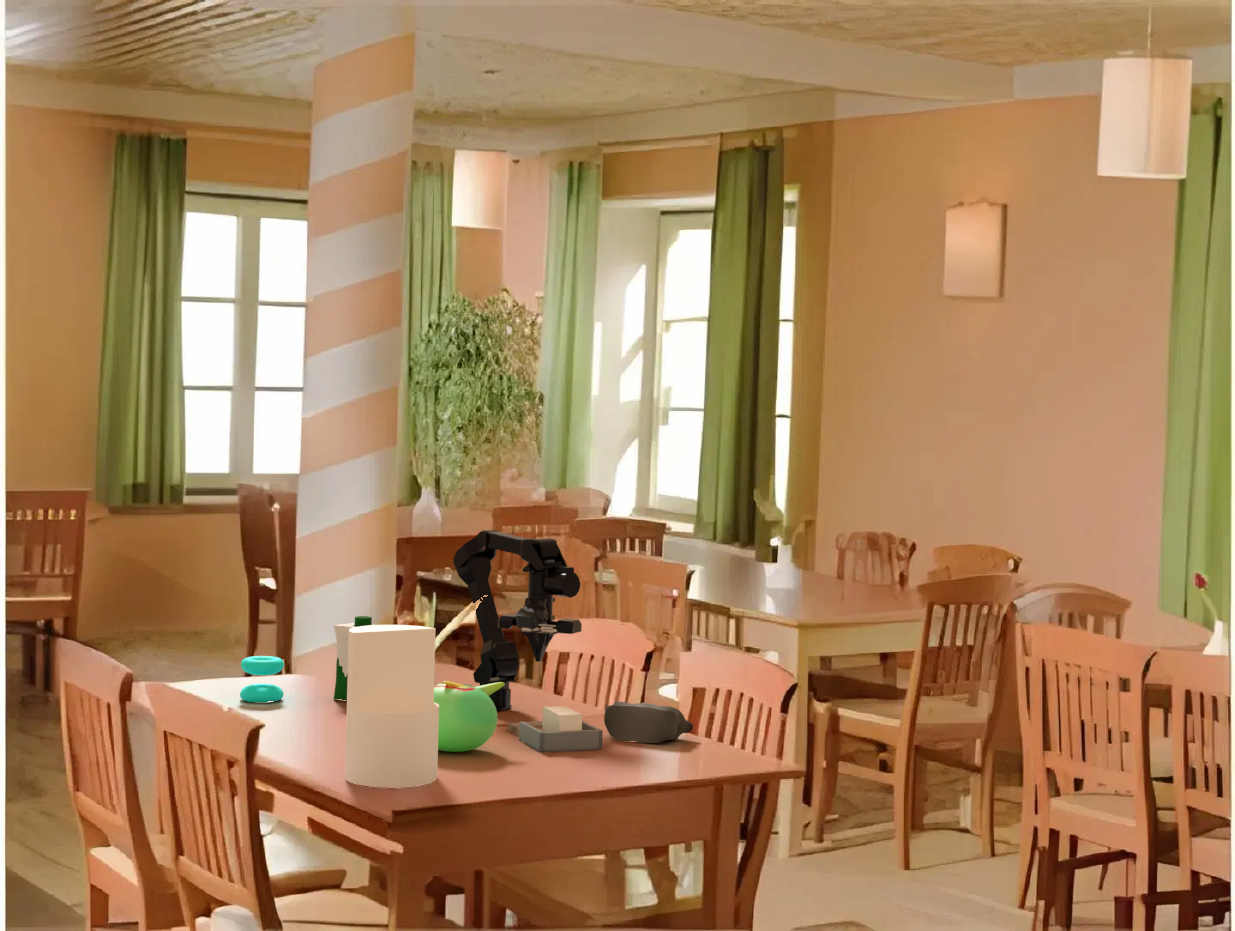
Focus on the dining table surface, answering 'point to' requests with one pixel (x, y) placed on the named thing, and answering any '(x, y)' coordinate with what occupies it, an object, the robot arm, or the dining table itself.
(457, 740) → the green rounded body
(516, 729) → the board
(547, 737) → the tray
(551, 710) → the cream rectangular block
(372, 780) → the cylinder
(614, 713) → the dark grey bottle
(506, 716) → the dining table surface
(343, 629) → the milk carton
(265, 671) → the donuts
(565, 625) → the robot arm
